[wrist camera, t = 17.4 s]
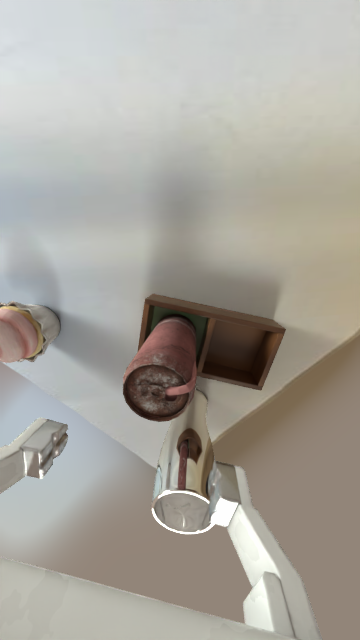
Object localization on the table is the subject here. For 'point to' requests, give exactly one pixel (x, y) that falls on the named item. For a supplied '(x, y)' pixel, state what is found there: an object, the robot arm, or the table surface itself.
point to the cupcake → (25, 331)
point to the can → (163, 371)
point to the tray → (221, 340)
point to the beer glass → (185, 472)
